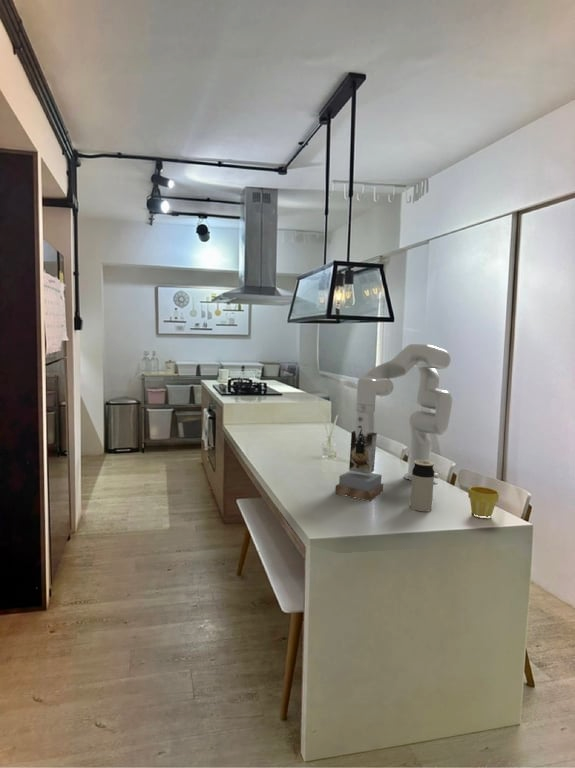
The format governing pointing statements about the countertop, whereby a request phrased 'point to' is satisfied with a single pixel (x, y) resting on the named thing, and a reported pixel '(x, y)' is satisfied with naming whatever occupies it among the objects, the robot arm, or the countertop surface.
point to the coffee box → (365, 460)
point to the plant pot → (482, 500)
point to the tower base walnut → (359, 492)
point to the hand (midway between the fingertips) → (362, 451)
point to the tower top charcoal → (360, 480)
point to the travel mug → (422, 485)
